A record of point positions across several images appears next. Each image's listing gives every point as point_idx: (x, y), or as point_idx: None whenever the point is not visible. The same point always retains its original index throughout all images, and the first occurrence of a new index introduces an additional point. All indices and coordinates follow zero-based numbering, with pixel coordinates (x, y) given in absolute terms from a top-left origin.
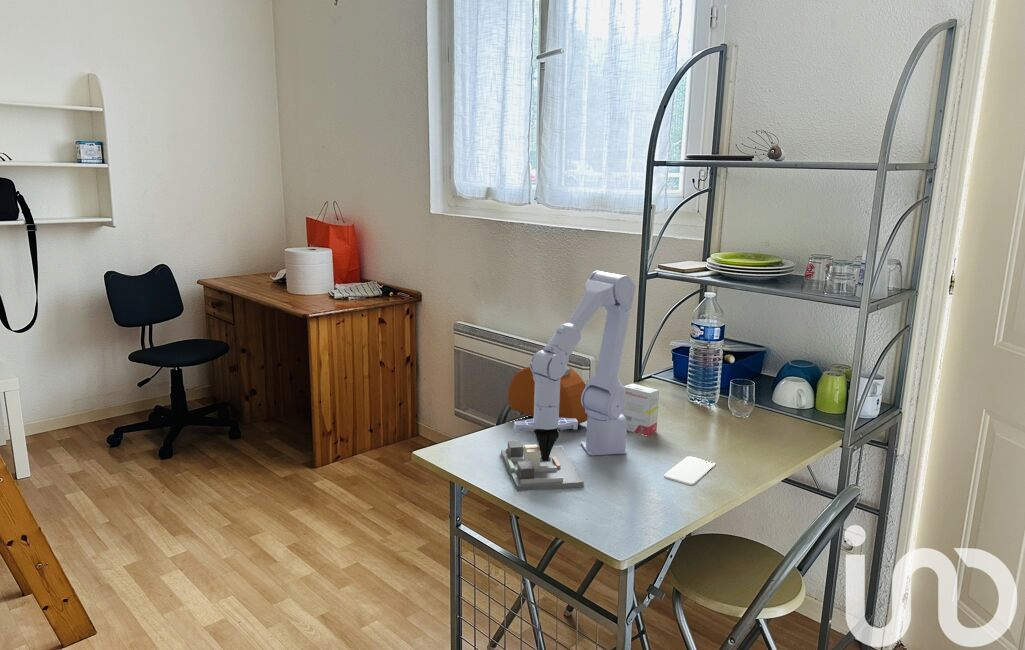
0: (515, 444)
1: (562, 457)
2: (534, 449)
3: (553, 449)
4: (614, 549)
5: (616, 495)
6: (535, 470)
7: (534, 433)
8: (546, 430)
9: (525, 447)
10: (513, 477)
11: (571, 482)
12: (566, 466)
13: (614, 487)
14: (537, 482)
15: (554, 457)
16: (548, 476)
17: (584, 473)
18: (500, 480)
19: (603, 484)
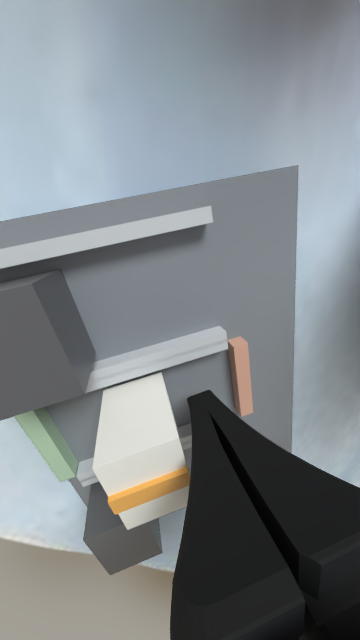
0: (13, 368)
1: (273, 307)
2: (164, 495)
3: (251, 212)
4: None
5: (334, 456)
6: None
7: (180, 546)
8: (311, 632)
9: (107, 492)
10: (83, 499)
11: None
12: (269, 383)
13: (345, 427)
14: None
15: (242, 351)
16: None
17: (306, 373)
18: (35, 479)
19: (329, 420)
